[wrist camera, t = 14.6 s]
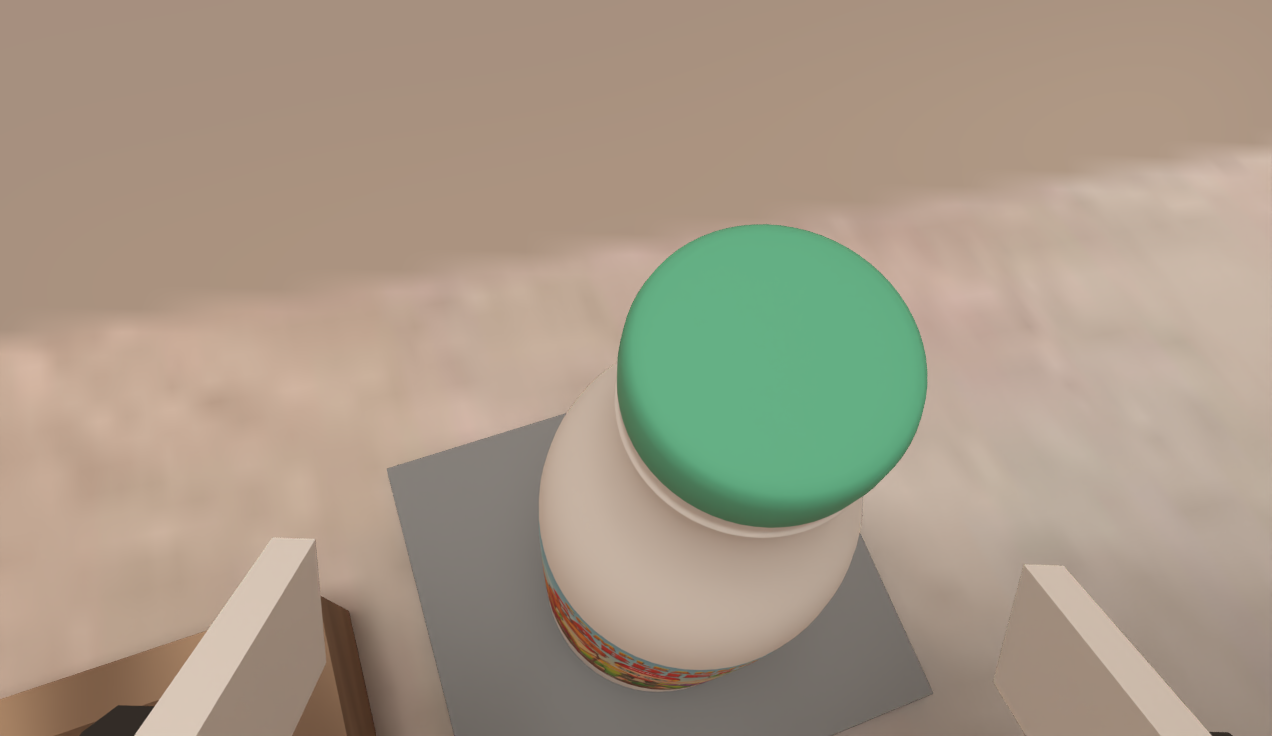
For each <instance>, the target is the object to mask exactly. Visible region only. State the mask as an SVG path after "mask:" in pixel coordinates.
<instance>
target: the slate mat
mask: <svg viewBox="0 0 1272 736" xmlns="http://www.w3.org/2000/svg"><path fill="white" fill-rule="evenodd" d="M565 415H566V414H562V415H559V416H556V417H553V418H549V419H546V420H543V421H540V422H536V423H533V424H530V425H527V426H524V427H520V428H517V429H514V430H511V431H507V432H504V433H501V434H498V435H494V436H491V437H488V438H485V439H481V440H478V441H475V442H472V443H468V444H465V445H462V446H459V447H455V448H452V449H449V450H446V451H443V452H439V453H436V454H433V455H430V456H426V457H423V458H420V459H417V460H413V461H410V462H407V463H404V464H400V465H397V466H394V467H391V468H387V472H388V476H389V480H390V484H391V488H392V492H393V496H394V500H395V504H396V508H397V512H398V515H399V519H400V523H401V527H402V531H403V535H404V539H405V543H406V547H407V551H408V555H409V559H410V563H411V567H412V571H413V574H414V578H415V582H416V586H417V590H418V594H419V598H420V602H421V606H422V610H423V614H424V618H425V622H426V626H427V630H428V634H429V637H430V641H431V645H432V649H433V653H434V657H435V661H436V665H437V669H438V673H439V677H440V681H441V685H442V689H443V693H444V696H445V700H446V704H447V708H448V712H449V716H450V720H451V724H452V728H453V732H454V736H832V735H834V734H837V733H839V732H841V731H844V730H846V729H849V728H851V727H854V726H856V725H858V724H861V723H863V722H866V721H868V720H871V719H873V718H875V717H878V716H880V715H883V714H885V713H887V712H890V711H892V710H895V709H897V708H900V707H902V706H904V705H907V704H909V703H912V702H914V701H916V700H919V699H921V698H924V697H926V696H929V695H931V694H933V691H932V689H931V687H930V685H929V683H928V680H927V678H926V676H925V674H924V672H923V669H922V667H921V665H920V663H919V661H918V658H917V656H916V654H915V652H914V650H913V648H912V645H911V643H910V641H909V639H908V637H907V634H906V632H905V630H904V628H903V626H902V624H901V621H900V619H899V617H898V615H897V613H896V610H895V608H894V606H893V604H892V602H891V600H890V597H889V595H888V593H887V591H886V589H885V586H884V584H883V582H882V580H881V578H880V576H879V573H878V571H877V569H876V567H875V565H874V562H873V560H872V558H871V556H870V554H869V552H868V549H867V547H866V545H865V543H864V541H863V538H862V536H861V534H859V538H858V542H857V546H856V549H855V552H854V554H853V557H852V560H851V563H850V566H849V568H848V570H847V573H846V575H845V577H844V579H843V581H842V583H841V584H840V586H839V588H838V589H837V591H836V593H835V594H834V596H833V597H832V598H831V600H830V601H829V602H828V603H827V605H826V606H825V607H824V609H823V610H822V611H821V612H820V614H819V615H818V616H817V617H816V618H815V619H814V620H813V621H812V622H811V623H810V624H809V626H808V627H807V628H805V629H804V630H803V631H802V632H801V633H799V634H798V635H797V636H796V637H795V638H793V639H792V640H790V641H789V642H787V643H786V644H784V645H783V646H781V647H780V648H778V649H776V650H775V651H773V652H772V653H770V654H768V655H767V656H765V657H763V658H761V659H759V660H757V661H755V662H754V663H751V664H749V665H747V666H744V667H742V668H740V669H738V670H735V671H733V672H731V673H728V674H725V675H723V676H720V677H718V678H715V679H712V680H710V681H707V682H705V683H702V684H699V685H696V686H693V687H689V688H686V689H681V690H675V691H664V692H650V691H641V690H635V689H631V688H628V687H624V686H622V685H619V684H616V683H614V682H612V681H610V680H608V679H606V678H604V677H602V676H601V675H599V674H598V673H596V672H595V671H593V670H592V669H591V668H590V667H588V666H587V665H586V664H585V663H584V662H583V661H582V660H581V659H580V658H579V657H578V656H577V655H576V654H575V653H574V651H573V650H572V649H571V648H570V646H569V645H568V643H567V642H566V640H565V639H564V637H563V635H562V634H561V632H560V630H559V628H558V626H557V623H556V621H555V619H554V616H553V613H552V610H551V607H550V603H549V598H548V593H547V588H546V583H545V576H544V570H543V563H542V555H541V547H540V537H539V493H540V482H541V477H542V472H543V467H544V464H545V461H546V458H547V454H548V451H549V449H550V446H551V443H552V441H553V438H554V436H555V433H556V431H557V429H558V427H559V425H560V424H561V422H562V420H563V418H564V416H565Z"/></svg>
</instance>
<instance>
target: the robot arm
mask: <svg viewBox="0 0 1272 736" xmlns="http://www.w3.org/2000/svg"><path fill="white" fill-rule="evenodd" d="M325 664H326V653H325V642H324V630H323V619H322V608H321V596H320V585H319V574H318V562H317V551H316V540H315V539H302V538H274V537H272V539H271V540H270V542H269V543H268V544H267V546H266V547H265V549H264V550H263V552H262V553H261V554H260V556H259V557H258V559H257V560H256V562H255V563H254V565H253V566H252V567H251V569H250V570H249V572H248V573H247V575H246V576H245V577H244V579H243V580H242V582H241V583H240V585H239V586H238V588H237V589H236V590H235V592H234V593H233V595H232V596H231V598H230V599H229V600H228V602H227V603H226V605H225V606H224V608H223V609H222V610H221V612H220V613H219V615H218V616H217V618H216V619H215V621H214V622H213V623H212V625H211V626H210V628H209V629H208V631H207V632H206V633H205V635H204V636H203V638H202V639H201V641H200V642H199V643H198V645H197V646H196V648H195V649H194V651H193V652H192V654H191V655H190V656H189V658H188V659H187V661H186V662H185V664H184V665H183V666H182V668H181V669H180V671H179V672H178V674H177V675H176V676H175V678H174V679H173V681H172V682H171V684H170V685H169V687H168V688H167V689H166V691H165V692H164V694H163V695H162V697H161V698H160V699H159V701H158V702H157V704H156V705H155V706H129V705H118V706H116V707H115V708H114V709H112V710H111V711H110V712H108V713H107V714H106V715H104V716H103V717H101V718H100V719H99V720H97V721H96V722H95V723H93V724H92V725H91V726H89V727H88V728H87V729H85V730H84V731H83V732H82V733H81V734H80V736H292V735H293V733H294V731H295V728H296V726H297V724H298V722H299V720H300V718H301V716H302V713H303V711H304V709H305V707H306V705H307V703H308V701H309V698H310V696H311V694H312V692H313V690H314V688H315V686H316V683H317V681H318V679H319V677H320V675H321V673H322V671H323V668H324V666H325ZM993 682H994V684H995V686H996V687H997V689H998V691H999V692H1000V694H1001V696H1002V697H1003V699H1004V701H1005V702H1006V704H1007V706H1008V707H1009V709H1010V711H1011V712H1012V714H1013V716H1014V717H1015V719H1016V721H1017V722H1018V724H1019V726H1020V727H1021V729H1022V731H1023V732H1024V734H1025V735H1026V736H1232V735H1231V734H1230V733H1228V732H1208V730H1207V729H1206V728H1205V727H1204V726H1203V725H1202V724H1201V722H1200V721H1199V720H1198V719H1197V718H1196V717H1195V716H1194V714H1193V713H1192V712H1191V711H1190V710H1189V709H1188V708H1187V706H1186V705H1185V704H1184V703H1183V702H1182V701H1181V700H1180V698H1179V697H1178V696H1177V695H1176V694H1175V693H1174V692H1173V690H1172V689H1171V688H1170V687H1169V686H1168V685H1167V684H1166V682H1165V681H1164V680H1163V679H1162V678H1161V677H1160V676H1159V674H1158V673H1157V672H1156V671H1155V670H1154V669H1153V668H1152V666H1151V665H1150V664H1149V663H1148V662H1147V661H1146V660H1145V658H1144V657H1143V656H1142V655H1141V654H1140V653H1139V652H1138V650H1137V649H1136V648H1135V647H1134V646H1133V645H1132V644H1131V642H1130V641H1129V640H1128V639H1127V638H1126V637H1125V636H1124V634H1123V633H1122V632H1121V631H1120V630H1119V629H1118V628H1117V626H1116V625H1115V624H1114V623H1113V622H1112V621H1111V620H1110V618H1109V617H1108V616H1107V615H1106V614H1105V613H1104V612H1103V610H1102V609H1101V608H1100V607H1099V606H1098V605H1097V604H1096V602H1095V601H1094V600H1093V599H1092V598H1091V597H1090V596H1089V594H1088V593H1087V592H1086V591H1085V590H1084V589H1083V588H1082V586H1081V585H1080V584H1079V583H1078V582H1077V581H1076V580H1075V578H1074V577H1073V576H1072V575H1071V574H1070V573H1069V571H1068V570H1067V569H1066V568H1065V567H1064V566H1060V565H1032V564H1024V565H1023V569H1022V573H1021V576H1020V580H1019V584H1018V588H1017V592H1016V596H1015V600H1014V603H1013V607H1012V611H1011V615H1010V619H1009V623H1008V626H1007V630H1006V634H1005V638H1004V642H1003V646H1002V650H1001V653H1000V657H999V661H998V665H997V669H996V673H995V676H994V680H993Z"/></svg>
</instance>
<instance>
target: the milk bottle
mask: <svg viewBox="0 0 1272 736" xmlns="http://www.w3.org/2000/svg"><path fill="white" fill-rule="evenodd" d="M926 391H927V364H926V356H925V351H924V346H923V342H922V339H921V336H920V333H919V330H918V328H917V325H916V323H915V320H914V318H913V316H912V314H911V313H910V311H909V309H908V307H907V305H906V304H905V302H904V301H903V299H902V298H901V296H900V295H899V293H898V292H897V291H896V290H895V288H894V287H893V286H892V285H891V283H890V282H889V281H888V280H887V279H886V278H885V277H884V276H883V275H882V274H881V273H880V272H879V271H878V270H877V269H876V268H875V267H874V266H872V265H871V264H870V263H869V262H867V261H866V260H865V259H863V258H862V257H861V256H860V255H858V254H856V253H855V252H853V251H852V250H850V249H849V248H847V247H845V246H843V245H841V244H839V243H837V242H836V241H833V240H831V239H829V238H826V237H824V236H822V235H819V234H816V233H813V232H810V231H806V230H802V229H798V228H793V227H787V226H781V225H768V224H763V225H744V226H736V227H731V228H726V229H722V230H719V231H715V232H712V233H710V234H707V235H704V236H702V237H700V238H698V239H696V240H694V241H692V242H690V243H688V244H686V245H685V246H683V247H682V248H680V249H678V250H677V251H676V252H674V253H673V254H672V255H671V256H669V257H668V258H667V259H666V260H665V261H664V262H663V263H662V264H661V265H660V266H659V267H658V268H657V269H656V270H655V271H654V272H653V274H652V275H651V276H650V277H649V278H648V279H647V281H646V282H645V283H644V285H643V286H642V288H641V289H640V291H639V292H638V294H637V296H636V298H635V299H634V301H633V303H632V305H631V308H630V310H629V313H628V315H627V318H626V322H625V325H624V329H623V333H622V337H621V341H620V346H619V352H618V362H617V363H615V364H614V365H612V366H611V367H609V368H608V369H607V370H605V371H604V372H603V373H602V374H600V375H599V376H598V377H597V378H596V379H595V380H594V381H593V382H592V383H591V384H590V385H589V386H587V387H586V389H585V390H584V391H583V392H582V393H581V395H580V396H579V397H578V398H577V399H576V401H575V402H574V403H573V405H572V406H571V408H570V409H569V410H568V412H567V413H566V415H565V416H564V418H563V420H562V422H561V424H560V425H559V427H558V429H557V431H556V433H555V436H554V438H553V441H552V443H551V446H550V449H549V451H548V454H547V458H546V461H545V464H544V467H543V472H542V477H541V482H540V493H539V537H540V547H541V555H542V563H543V570H544V576H545V583H546V588H547V593H548V598H549V603H550V607H551V610H552V613H553V616H554V619H555V621H556V623H557V626H558V628H559V630H560V632H561V634H562V635H563V637H564V639H565V640H566V642H567V643H568V645H569V646H570V648H571V649H572V650H573V651H574V653H575V654H576V655H577V656H578V657H579V658H580V659H581V660H582V661H583V662H584V663H585V664H586V665H587V666H588V667H590V668H591V669H592V670H593V671H595V672H596V673H598V674H599V675H601V676H602V677H604V678H606V679H608V680H610V681H612V682H614V683H616V684H619V685H622V686H624V687H628V688H631V689H635V690H641V691H650V692H664V691H675V690H681V689H686V688H689V687H693V686H696V685H699V684H702V683H705V682H707V681H710V680H712V679H715V678H718V677H720V676H723V675H725V674H728V673H731V672H733V671H735V670H738V669H740V668H742V667H744V666H747V665H749V664H751V663H754V662H755V661H757V660H759V659H761V658H763V657H765V656H767V655H768V654H770V653H772V652H773V651H775V650H776V649H778V648H780V647H781V646H783V645H784V644H786V643H787V642H789V641H790V640H792V639H793V638H795V637H796V636H797V635H798V634H799V633H801V632H802V631H803V630H804V629H805V628H807V627H808V626H809V624H810V623H811V622H812V621H813V620H814V619H815V618H816V617H817V616H818V615H819V614H820V612H821V611H822V610H823V609H824V607H825V606H826V605H827V603H828V602H829V601H830V600H831V598H832V597H833V596H834V594H835V593H836V591H837V589H838V588H839V586H840V584H841V583H842V581H843V579H844V577H845V575H846V573H847V570H848V568H849V566H850V563H851V560H852V557H853V554H854V552H855V549H856V546H857V542H858V538H859V534H860V528H861V521H862V507H863V496H864V495H865V494H866V493H868V492H869V491H870V490H871V489H873V488H874V487H875V486H876V485H877V484H878V483H879V482H880V481H881V480H882V479H883V478H884V477H885V476H886V475H887V474H888V473H889V472H890V471H891V470H892V469H893V468H894V467H895V465H896V464H897V463H898V461H899V460H900V459H901V458H902V456H903V455H904V453H905V452H906V450H907V449H908V447H909V445H910V444H911V442H912V440H913V437H914V435H915V433H916V431H917V428H918V425H919V422H920V419H921V416H922V412H923V408H924V404H925V399H926Z"/></svg>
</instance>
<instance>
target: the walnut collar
mask: <svg viewBox="0 0 1272 736" xmlns="http://www.w3.org/2000/svg"><path fill="white" fill-rule="evenodd" d="M321 608H322V619H323V630H324V642H325V653H326V664H325V666H324V668H323V671H322V673H321V675H320V677H319V679H318V681H317V683H316V686H315V688H314V690H313V692H312V694H311V696H310V698H309V701H308V703H307V705H306V707H305V709H304V711H303V713H302V716H301V718H300V720H299V722H298V724H297V726H296V728H295V731H294V733H293V735H292V736H376V732H375V727H374V723H373V718H372V714H371V709H370V705H369V700H368V696H367V691H366V687H365V682H364V678H363V673H362V669H361V664H360V660H359V655H358V651H357V646H356V642H355V637H354V633H353V628H352V624H351V619H350V615H349V611H348V610H346V609H344V608H342V607H340V606H338V605H337V604H335V603H333V602H331V601H329V600H327V599H325V598H324V597H322V596H321ZM207 631H208V630H207ZM207 631H204V632H201V633H198V634H195V635H192V636H189V637H186V638H183V639H180V640H177V641H174V642H171V643H168V644H165V645H162V646H159V647H156V648H153V649H150V650H147V651H144V652H141V653H138V654H135V655H132V656H129V657H126V658H123V659H120V660H117V661H114V662H111V663H108V664H105V665H102V666H99V667H96V668H93V669H90V670H87V671H84V672H81V673H78V674H75V675H72V676H69V677H66V678H63V679H60V680H57V681H54V682H51V683H48V684H45V685H42V686H39V687H36V688H33V689H30V690H27V691H24V692H21V693H18V694H15V695H12V696H9V697H6V698H3V699H0V736H80V734H81V733H82V732H83V731H84V730H85V729H87V728H88V727H89V726H91V725H92V724H93V723H95V722H96V721H97V720H99V719H100V718H101V717H103V716H104V715H106V714H107V713H108V712H110V711H111V710H112V709H114V708H115V707H116V706H118V705H129V706H155V705H156V704H157V702H158V701H159V699H160V698H161V697H162V695H163V694H164V692H165V691H166V689H167V688H168V687H169V685H170V684H171V682H172V681H173V679H174V678H175V676H176V675H177V674H178V672H179V671H180V669H181V668H182V666H183V665H184V664H185V662H186V661H187V659H188V658H189V656H190V655H191V654H192V652H193V651H194V649H195V648H196V646H197V645H198V643H199V642H200V641H201V639H202V638H203V636H204V635H205V633H206V632H207Z"/></svg>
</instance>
